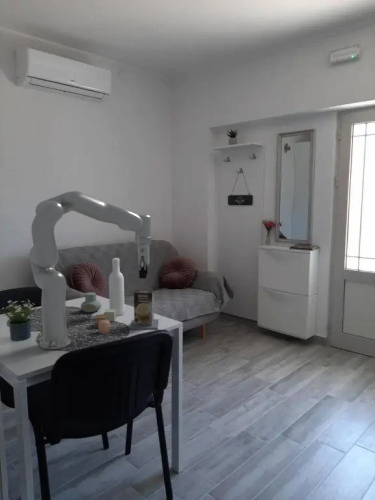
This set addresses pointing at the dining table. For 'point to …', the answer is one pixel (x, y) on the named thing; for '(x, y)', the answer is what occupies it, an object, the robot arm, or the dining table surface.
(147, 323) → the coffee box
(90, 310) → the air freshener
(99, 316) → the walnut block
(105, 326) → the terracotta cylinder
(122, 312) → the bottle
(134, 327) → the slate mat
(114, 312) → the sage block
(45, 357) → the dining table surface
